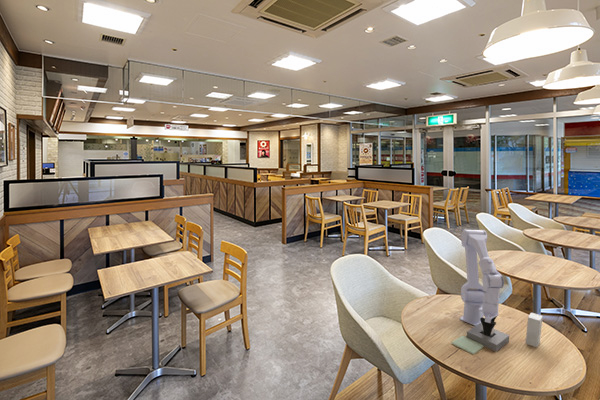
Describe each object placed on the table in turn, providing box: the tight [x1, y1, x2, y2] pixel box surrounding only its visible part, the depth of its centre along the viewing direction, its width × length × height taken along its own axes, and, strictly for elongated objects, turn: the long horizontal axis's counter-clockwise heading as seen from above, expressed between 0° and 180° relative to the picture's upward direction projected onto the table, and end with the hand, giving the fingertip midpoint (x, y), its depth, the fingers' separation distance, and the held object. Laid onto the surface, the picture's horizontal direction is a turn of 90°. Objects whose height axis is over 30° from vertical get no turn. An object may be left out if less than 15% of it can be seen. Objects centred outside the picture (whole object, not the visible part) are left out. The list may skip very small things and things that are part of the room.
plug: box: [482, 326, 495, 338], centre depth 135 cm, size 4×4×7 cm
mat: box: [451, 335, 485, 355], centre depth 131 cm, size 9×9×1 cm
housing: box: [465, 323, 510, 352], centre depth 135 cm, size 12×12×3 cm
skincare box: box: [525, 312, 543, 348], centre depth 132 cm, size 6×4×12 cm
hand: (488, 331), depth 135 cm, fingers open, 7 cm apart
